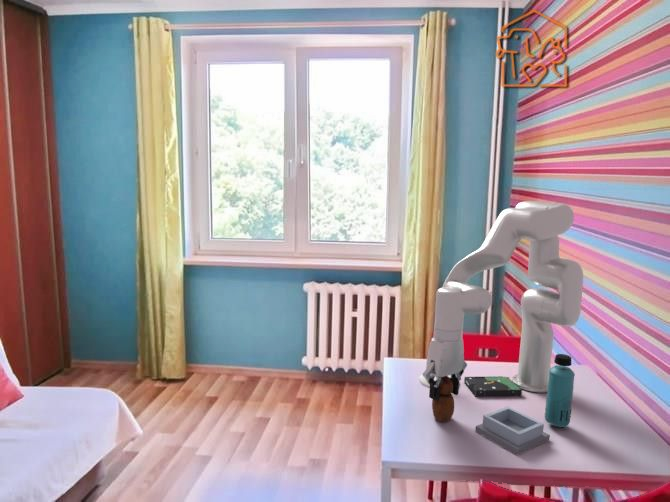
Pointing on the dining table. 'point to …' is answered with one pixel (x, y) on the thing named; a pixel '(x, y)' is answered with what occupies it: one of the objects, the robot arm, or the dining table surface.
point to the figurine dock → (512, 430)
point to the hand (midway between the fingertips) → (443, 395)
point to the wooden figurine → (444, 401)
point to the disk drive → (492, 386)
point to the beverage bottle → (560, 392)
